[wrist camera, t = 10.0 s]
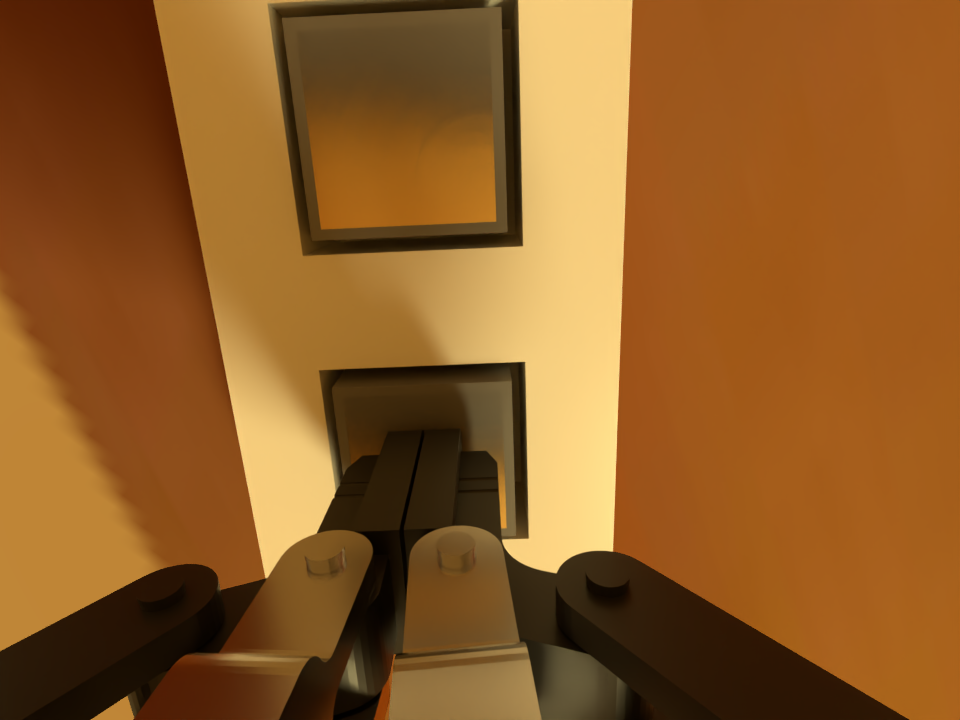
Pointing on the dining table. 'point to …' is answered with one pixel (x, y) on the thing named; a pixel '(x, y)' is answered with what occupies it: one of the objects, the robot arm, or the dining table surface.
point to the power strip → (416, 262)
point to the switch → (431, 413)
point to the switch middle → (400, 122)
